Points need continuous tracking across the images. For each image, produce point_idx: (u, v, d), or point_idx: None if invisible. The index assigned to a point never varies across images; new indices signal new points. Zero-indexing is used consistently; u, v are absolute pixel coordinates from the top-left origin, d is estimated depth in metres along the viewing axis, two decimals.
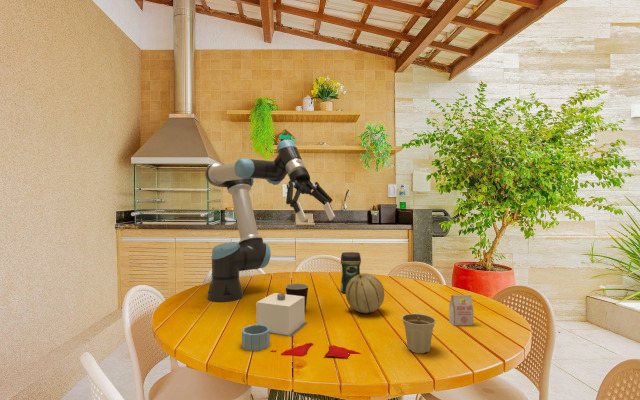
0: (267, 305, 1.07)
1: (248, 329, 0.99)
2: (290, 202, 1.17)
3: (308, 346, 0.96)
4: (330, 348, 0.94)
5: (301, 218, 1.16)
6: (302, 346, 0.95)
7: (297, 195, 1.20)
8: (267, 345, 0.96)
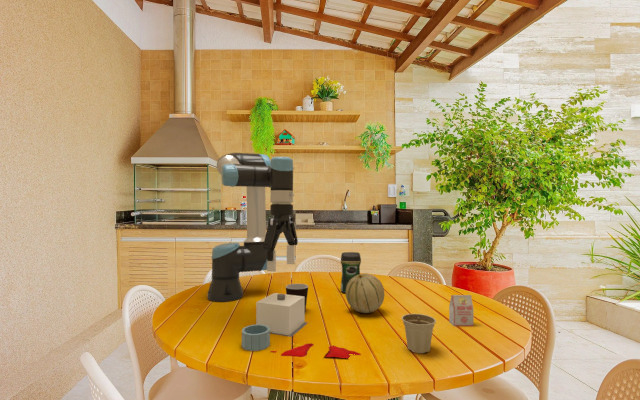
0: (267, 305, 1.07)
1: (248, 329, 0.99)
2: (267, 249, 1.03)
3: (308, 347, 0.95)
4: (330, 349, 0.94)
5: (270, 269, 1.05)
6: (302, 347, 0.94)
7: (276, 240, 1.06)
8: (267, 345, 0.96)
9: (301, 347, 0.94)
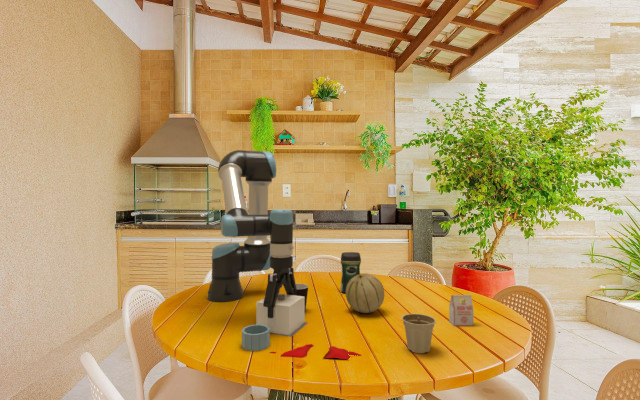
0: None
1: (248, 329, 0.99)
2: (268, 307, 1.03)
3: (308, 347, 0.95)
4: (330, 349, 0.93)
5: (270, 325, 1.06)
6: (302, 347, 0.94)
7: (276, 296, 1.06)
8: (267, 345, 0.96)
9: (301, 348, 0.93)
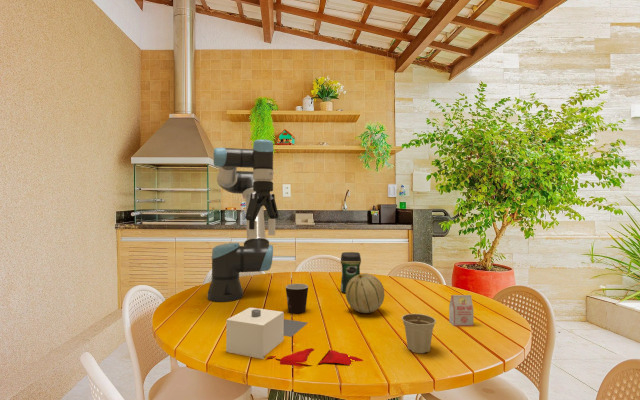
0: (238, 324, 0.92)
1: None
2: (249, 219, 1.19)
3: (308, 352, 0.92)
4: (331, 354, 0.91)
5: (252, 236, 1.21)
6: (302, 352, 0.91)
7: (257, 212, 1.22)
8: None
9: (301, 352, 0.91)
